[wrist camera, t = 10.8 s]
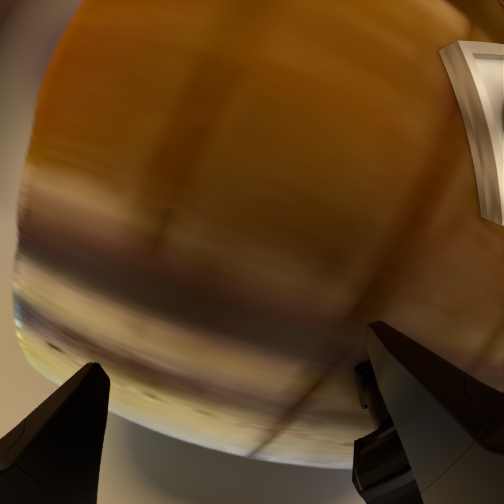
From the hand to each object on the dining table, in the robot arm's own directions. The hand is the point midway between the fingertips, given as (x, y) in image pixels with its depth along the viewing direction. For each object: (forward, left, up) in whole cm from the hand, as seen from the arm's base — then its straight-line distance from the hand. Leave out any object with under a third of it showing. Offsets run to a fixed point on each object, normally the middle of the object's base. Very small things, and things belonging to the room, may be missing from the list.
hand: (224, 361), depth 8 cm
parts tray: (+3, -26, -13) cm, 29 cm away
